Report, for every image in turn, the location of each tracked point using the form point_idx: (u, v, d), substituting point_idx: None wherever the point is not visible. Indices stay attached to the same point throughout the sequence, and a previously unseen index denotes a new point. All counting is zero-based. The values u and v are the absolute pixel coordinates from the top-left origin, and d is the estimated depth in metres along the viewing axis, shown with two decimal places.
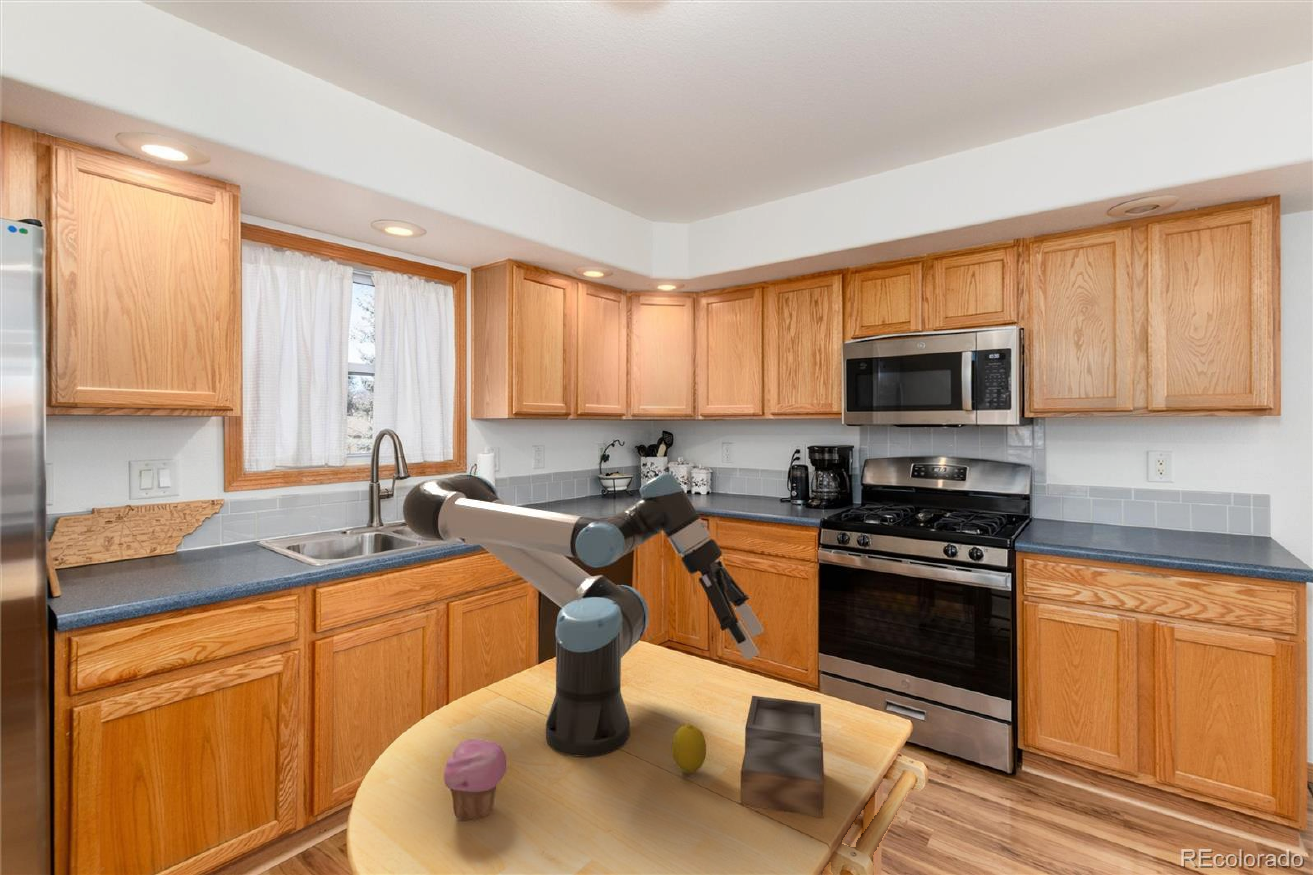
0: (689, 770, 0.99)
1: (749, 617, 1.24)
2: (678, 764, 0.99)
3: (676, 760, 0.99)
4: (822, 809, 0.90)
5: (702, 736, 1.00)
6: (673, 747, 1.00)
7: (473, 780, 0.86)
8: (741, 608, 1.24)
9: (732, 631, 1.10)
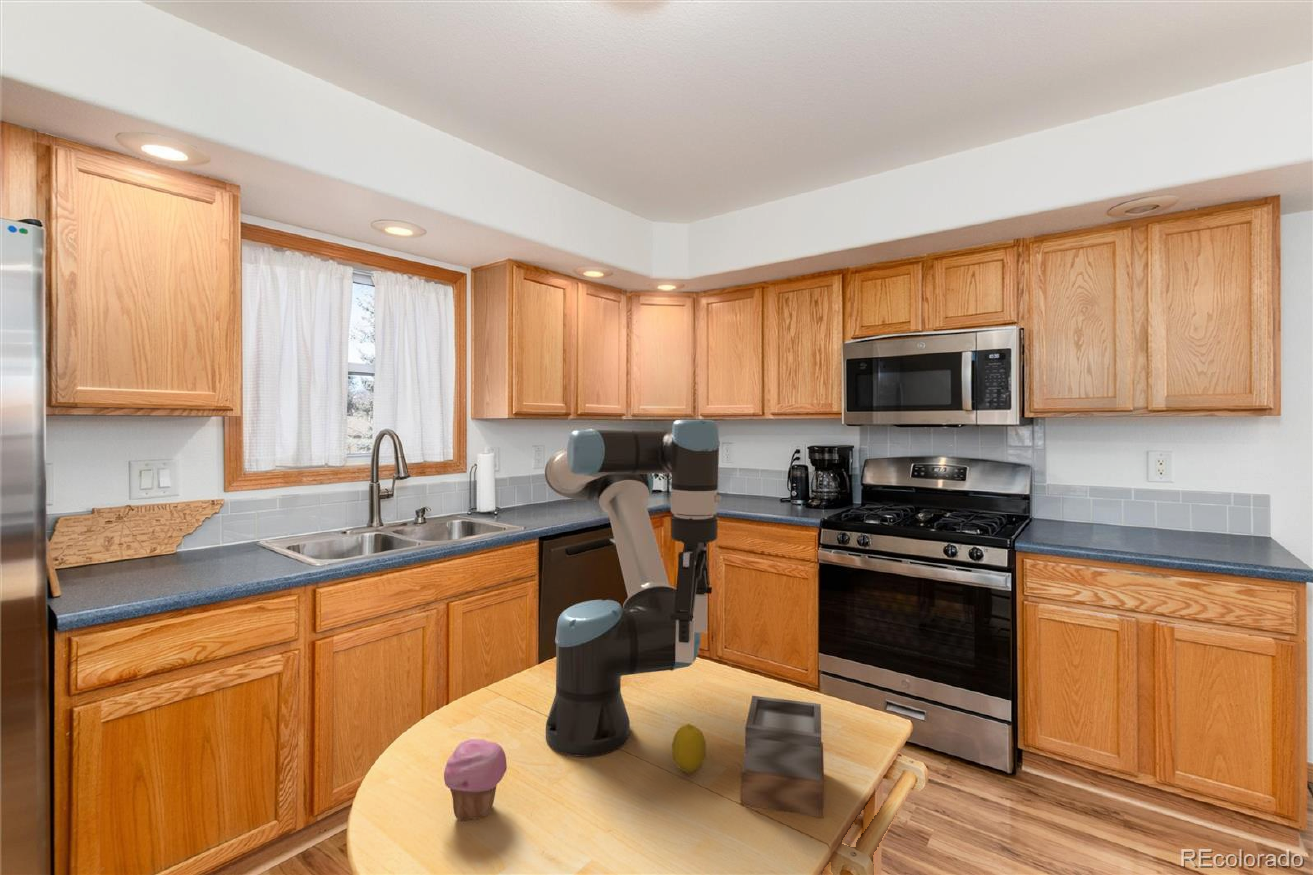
0: (689, 770, 0.99)
1: (700, 611, 1.07)
2: (678, 764, 0.99)
3: (676, 760, 0.99)
4: (822, 809, 0.90)
5: (702, 736, 1.00)
6: (673, 747, 1.00)
7: (473, 780, 0.86)
8: (698, 598, 1.07)
9: (680, 626, 0.92)
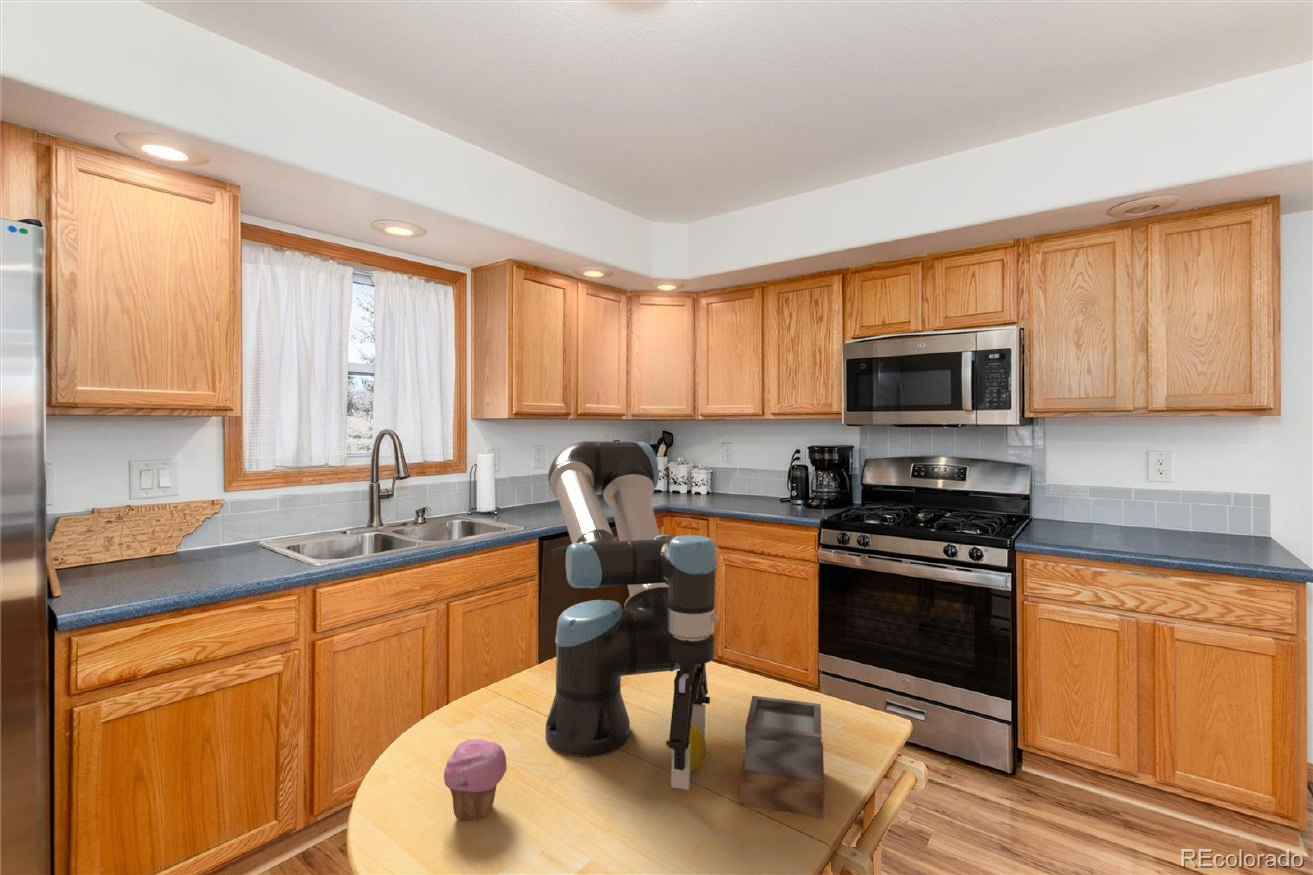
0: None
1: (698, 722, 1.07)
2: None
3: None
4: (822, 809, 0.90)
5: (702, 736, 1.00)
6: None
7: (473, 780, 0.86)
8: (696, 709, 1.07)
9: (676, 753, 0.93)
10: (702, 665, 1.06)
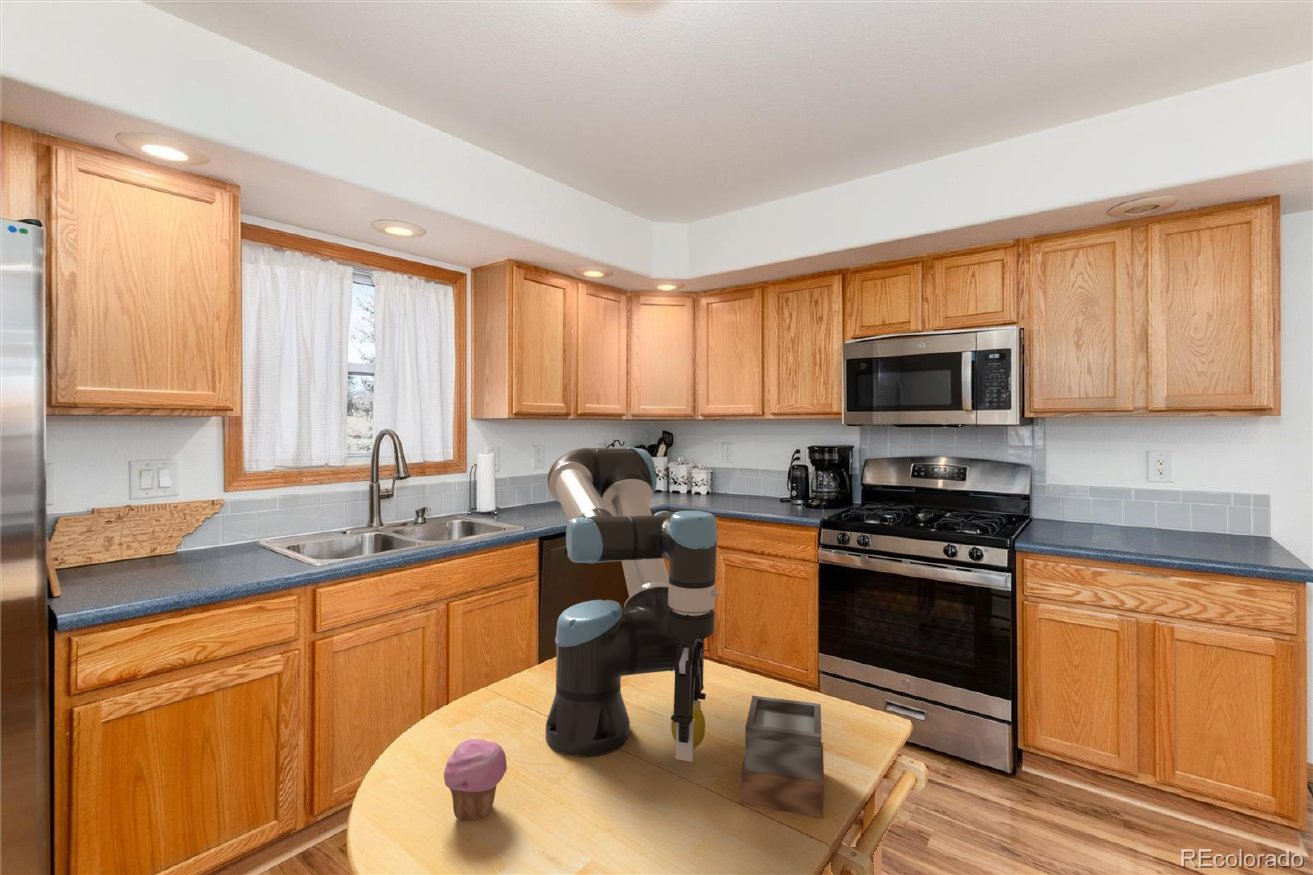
0: None
1: None
2: None
3: (675, 738, 1.00)
4: (822, 809, 0.90)
5: (701, 714, 1.00)
6: (672, 724, 1.00)
7: (473, 780, 0.86)
8: None
9: (680, 727, 0.97)
10: None
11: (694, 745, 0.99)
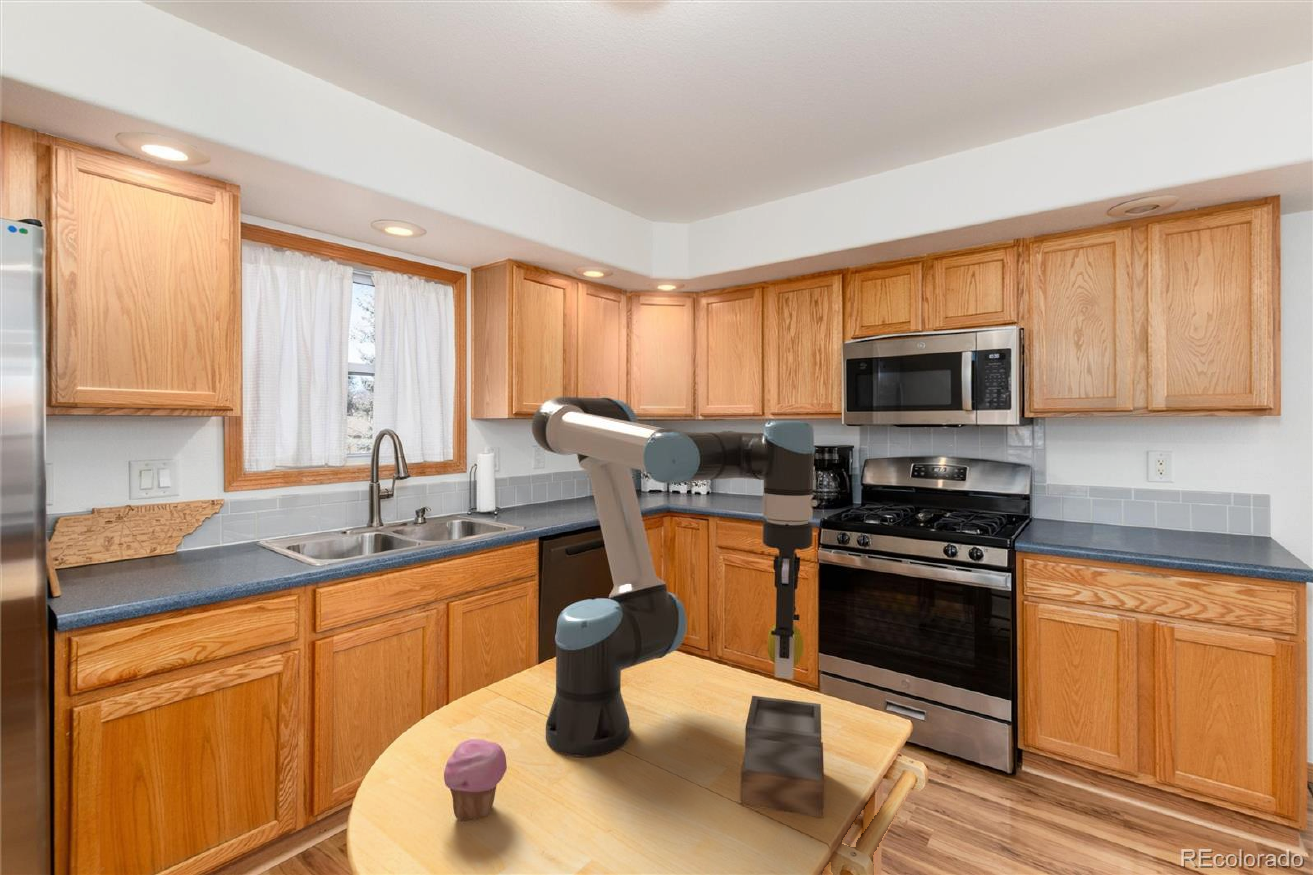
0: None
1: None
2: None
3: (773, 656, 0.95)
4: (822, 809, 0.90)
5: (799, 631, 0.96)
6: (769, 642, 0.96)
7: (473, 780, 0.86)
8: None
9: (781, 642, 0.92)
10: None
11: None
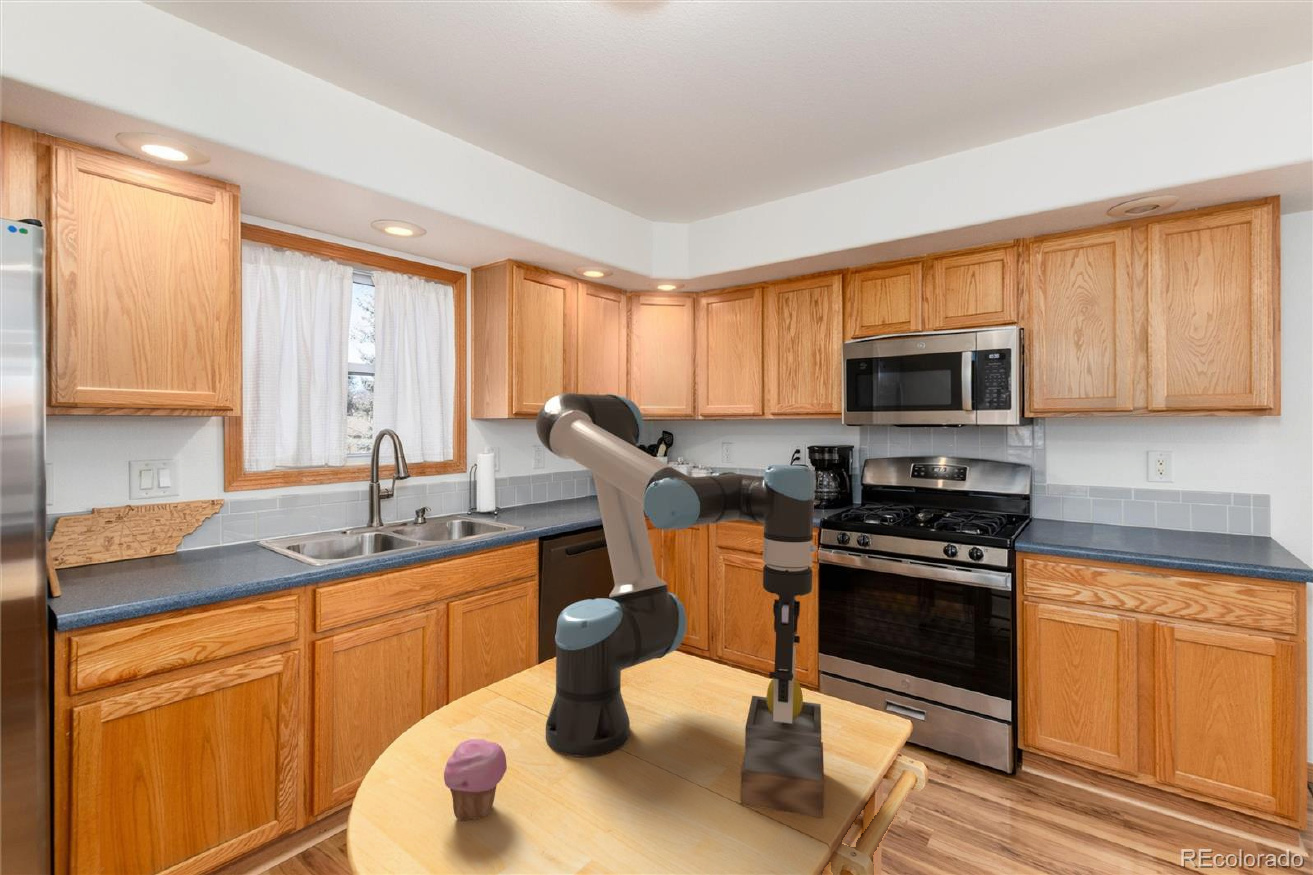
0: None
1: None
2: None
3: (772, 710, 0.95)
4: (822, 809, 0.90)
5: (799, 685, 0.96)
6: (769, 696, 0.96)
7: (473, 780, 0.86)
8: None
9: (780, 685, 0.89)
10: None
11: (793, 717, 0.95)
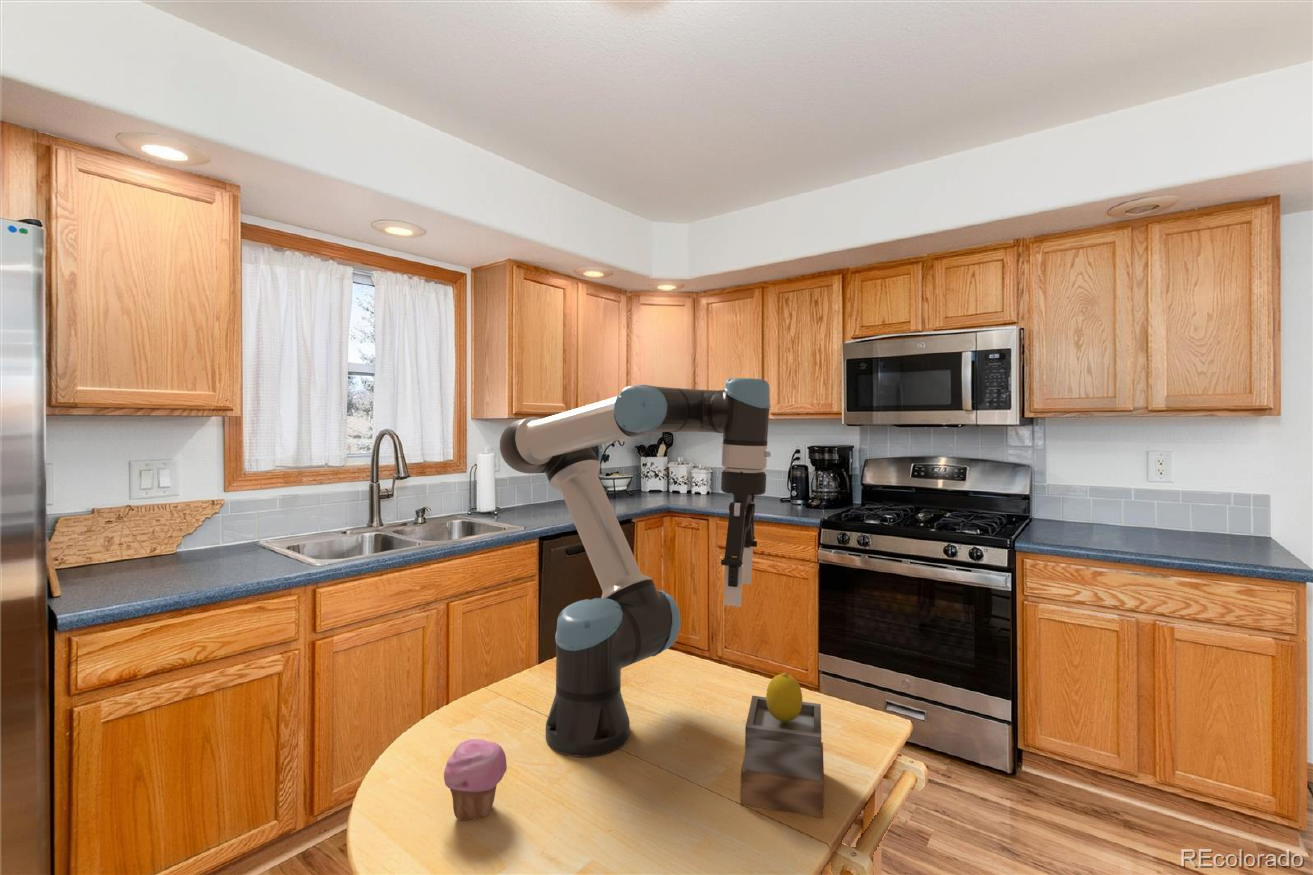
0: (786, 719, 0.95)
1: (745, 563, 1.12)
2: (774, 713, 0.95)
3: (772, 710, 0.96)
4: (822, 809, 0.90)
5: (798, 685, 0.96)
6: (768, 696, 0.96)
7: (473, 780, 0.86)
8: (744, 551, 1.12)
9: (730, 571, 0.98)
10: None
11: (792, 717, 0.95)
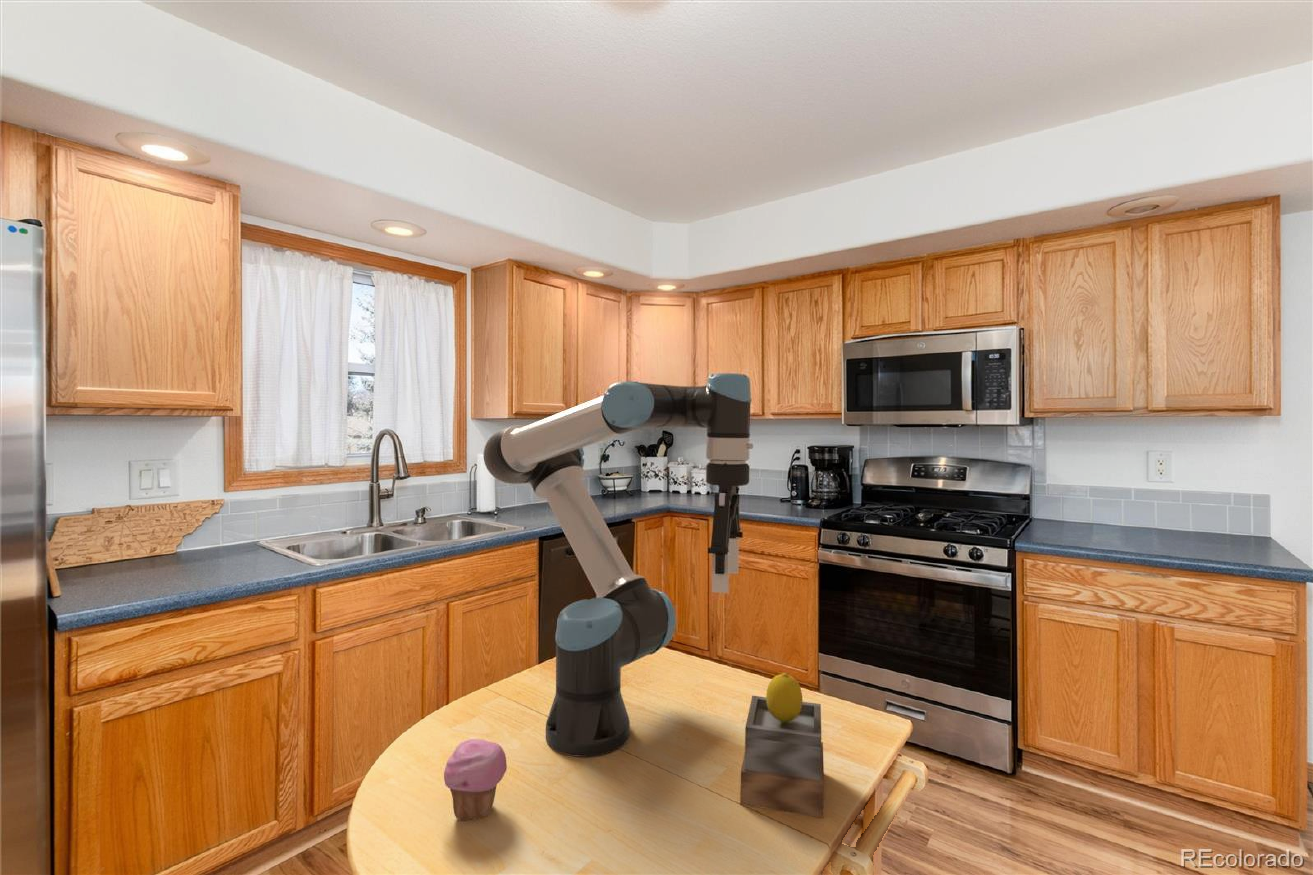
0: (786, 719, 0.95)
1: (732, 554, 1.16)
2: (774, 713, 0.95)
3: (772, 710, 0.96)
4: (822, 809, 0.90)
5: (798, 685, 0.96)
6: (768, 696, 0.96)
7: (473, 780, 0.86)
8: (730, 541, 1.16)
9: (717, 559, 1.02)
10: None
11: (792, 717, 0.95)
